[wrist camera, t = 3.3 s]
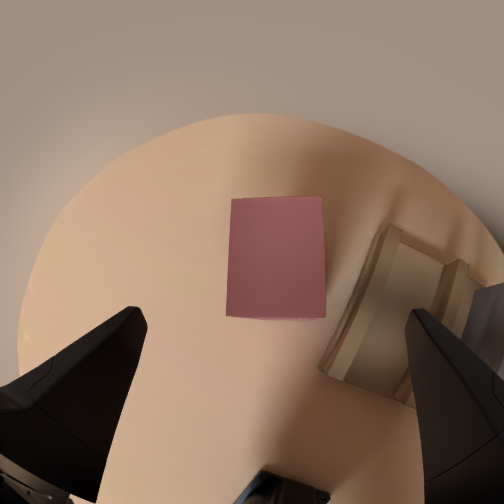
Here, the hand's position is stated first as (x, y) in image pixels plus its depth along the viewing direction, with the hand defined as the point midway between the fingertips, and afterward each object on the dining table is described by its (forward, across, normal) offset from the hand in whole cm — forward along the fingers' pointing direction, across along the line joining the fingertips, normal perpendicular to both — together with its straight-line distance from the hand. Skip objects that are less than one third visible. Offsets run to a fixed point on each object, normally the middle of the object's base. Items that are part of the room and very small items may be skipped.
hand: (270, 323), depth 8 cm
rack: (+7, -10, +8) cm, 15 cm away
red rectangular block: (+10, 0, +6) cm, 11 cm away
